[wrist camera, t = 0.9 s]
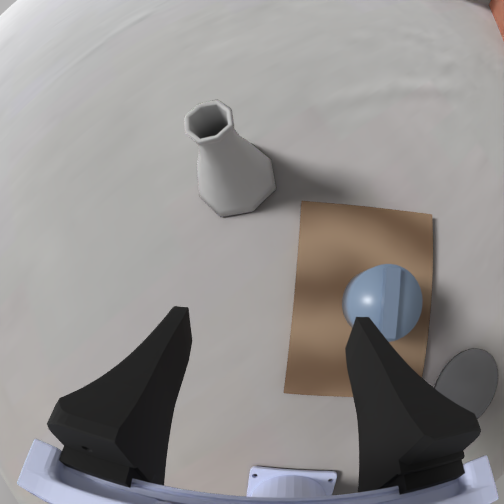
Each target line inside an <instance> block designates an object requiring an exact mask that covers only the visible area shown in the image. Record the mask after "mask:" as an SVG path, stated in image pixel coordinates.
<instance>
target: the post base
mask: <svg viewBox="0 0 504 504" xmlns="http://www.w3.org/2000/svg"><path fill="white" fill-rule="evenodd" d="M382 264H394V265H398V266H401V267H403V268H405V269H406V270H408V271H409V272H410V273H411V274H412V275H413V276H414V277H415V279H416V280H417V282H418V284H419V286H420V289H421V292H422V311H421V315H420V317H419V320H418V321H417V323H416V325H415V326H414V328H413V329H412V330H411V331H410V332H409V333H408V334H407V335H405V336H404V337H402V338H400V339H398V340H395V341H391V342H389V343H390V344H391V345H392V347H393V348H394V349H395V350H396V351H397V353H398V354H399V355H400V356H401V357H402V358H403V359H404V360H405V362H406V363H407V364H408V365H409V366H410V367H411V368H412V369H413V370H414V371H415V372H416V373H417V374H418V375H419V376H420V377H422V374H423V368H424V361H425V355H426V347H427V339H428V331H429V321H430V309H431V295H432V273H433V226H432V215H431V214H424V213H416V212H408V211H400V210H392V209H383V208H374V207H365V206H355V205H344V204H334V203H322V202H310V201H302V202H301V217H300V232H299V246H298V259H297V271H296V283H295V294H294V305H293V315H292V325H291V335H290V344H289V353H288V362H287V370H286V378H285V386H284V393H289V394H301V395H317V396H341V397H353V393H352V389H351V384H350V380H349V375H348V371H347V363H346V353H345V348H346V345H347V342H348V339H349V336H350V333H351V331H352V328H351V326H350V325H349V324H348V323H347V321H346V319H345V317H344V314H343V310H342V298H343V294H344V291H345V288H346V286H347V285H348V283H349V282H350V280H351V279H352V278H353V277H355V276H356V275H357V274H359V273H361V272H363V271H365V270H368V269H370V268H373V267H375V266H378V265H382Z"/></svg>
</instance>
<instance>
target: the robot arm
mask: <svg viewBox="0 0 504 504" xmlns="http://www.w3.org/2000/svg"><path fill="white" fill-rule="evenodd" d="M191 345H192V335H191V327H190V318H189V309H188V308H187V307H177V306H174V307H173V308H172V309H171V310H170V312H169V313H168V314H167V315H166V317H165V318H164V319H163V320H162V321H161V323H160V324H159V325H158V326H157V327H156V328H155V329H154V331H153V332H152V333H151V334H150V335H149V336H148V337H147V338H146V339H145V340H144V341H143V342H142V343H141V344H140V345H139V346H138V347H137V348H136V349H135V350H134V351H133V352H132V353H131V354H130V355H129V356H128V357H126V358H125V359H124V360H123V361H122V362H120V363H119V364H118V365H117V366H115V367H114V368H113V369H111V370H110V371H109V372H107V373H106V374H104V375H103V376H102V377H100V378H98V379H97V380H95V381H93V382H92V383H90V384H88V385H87V386H85V387H83V388H81V389H79V390H77V391H75V392H73V393H70V394H68V395H66V396H64V397H61V398H59V400H58V402H57V403H56V405H55V407H54V410H53V412H52V414H51V416H50V418H49V421H48V423H47V425H48V428H49V430H50V431H51V432H52V433H53V434H54V435H55V436H56V438H57V439H58V440H59V441H60V442H61V443H62V444H63V445H64V448H63V450H62V451H61V450H60V449H58V448H56V447H54V446H52V445H49V444H47V443H45V442H43V441H40V440H38V439H34V441H33V444H32V446H31V448H30V451H29V453H28V456H27V458H26V460H25V463H24V465H23V468H22V471H21V473H20V476H19V478H18V481H17V484H18V485H19V486H20V487H22V488H24V489H25V490H27V491H28V492H30V493H32V494H33V495H35V496H37V497H38V498H40V499H42V500H44V501H45V502H47V503H49V504H490V503H493V502H494V501H496V500H498V498H499V497H498V493H497V488H496V485H495V481H494V477H493V474H492V470H491V467H490V463H489V460H488V457H487V455H485V456H482V457H480V458H477V459H474V460H471V461H469V462H467V463H465V464H462V460H461V459H463V458H464V452H463V450H464V449H465V448H466V447H468V446H469V445H470V444H471V443H472V442H473V441H474V440H475V439H476V438H477V437H478V436H479V434H480V432H481V429H480V426H479V423H478V421H477V418H476V416H475V414H474V413H473V412H471V411H469V410H467V409H465V408H463V407H461V406H459V405H458V404H456V403H455V402H453V401H451V400H450V399H448V398H447V397H445V396H444V395H443V394H441V393H440V392H438V391H437V390H436V389H435V388H433V387H432V386H431V385H430V384H428V383H427V382H426V381H425V380H424V379H423V378H422V377H420V376H419V375H418V374H417V373H416V372H415V371H414V370H413V369H412V368H411V367H410V366H409V365H408V364H407V363H406V362H405V360H404V359H403V358H402V357H401V356H400V355H399V354H398V353H397V351H396V350H395V349H394V348H393V347H392V345H391V344H390V343H389V342H388V341H387V339H386V338H385V337H384V336H383V334H382V333H381V332H380V330H379V329H378V328H377V327H376V325H375V324H374V323H373V321H372V320H371V319H370V318H369V317H356V319H355V322H354V325H353V328H352V331H351V333H350V336H349V339H348V342H347V345H346V348H345V353H346V363H347V371H348V375H349V380H350V384H351V389H352V393H353V398H354V402H355V407H356V412H357V419H358V432H359V486H358V493H351V494H342V495H332V493H333V490H334V486H335V482H336V479H337V473H336V472H335V471H312V470H293V469H280V468H269V467H260V466H253V467H252V468H251V469H250V475H249V482H248V490H247V496H233V495H222V494H213V493H205V492H197V491H191V490H185V489H179V488H173V487H168V486H164V478H165V467H166V458H167V449H168V442H169V435H170V429H171V423H172V417H173V412H174V407H175V404H176V400H177V397H178V393H179V390H180V387H181V384H182V381H183V377H184V374H185V371H186V368H187V364H188V361H189V356H190V351H191ZM253 474H257V476H254V475H253ZM329 479H333V480H331V481H328V480H329Z"/></svg>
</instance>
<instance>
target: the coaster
mask: <svg viewBox="0 0 504 504" xmlns="http://www.w3.org/2000/svg"><path fill="white" fill-rule="evenodd" d="M497 382H498V369H497V365H496V362H495V360H494V358H493V357H492V356H491V355H490V354H489V353H488V352H487V351H484V350H481V349H468V350H465V351H463V352H461V353H459V354H458V355H456V356H455V357H454V358H453V359H452V360H451V361H450V362H449V363H448V364H447V365H446V366H445V368H444V369H443V371H442V372H441V374H440V376H439V378H438V380H437V382H436V385H435V389H436V390H437V391H438V392H440V393H441V394H443V395H444V396H445V397H447V398H448V399H450V400H451V401H453V402H455V403H456V404H458V405H459V406H461V407H463V408H465V409H467V410H469V411H471V412H473V413H474V414H475V416H476V418H478V417H479V416H480V415H481V414H482V413H483V412H484V411H485V410H486V409H487V407H488V406H489V404H490V402H491V401H492V399H493V396H494V394H495V391H496V387H497Z"/></svg>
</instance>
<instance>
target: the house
mask: <svg viewBox="0 0 504 504" xmlns="http://www.w3.org/2000/svg"><path fill="white" fill-rule="evenodd" d="M489 6H490V9H491V11H492V13H493V15H494V18H495V20H496V23H497V25H498V27H499V30H500V33H501V35H502V38H503V41H504V0H491V2H490V4H489Z"/></svg>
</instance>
